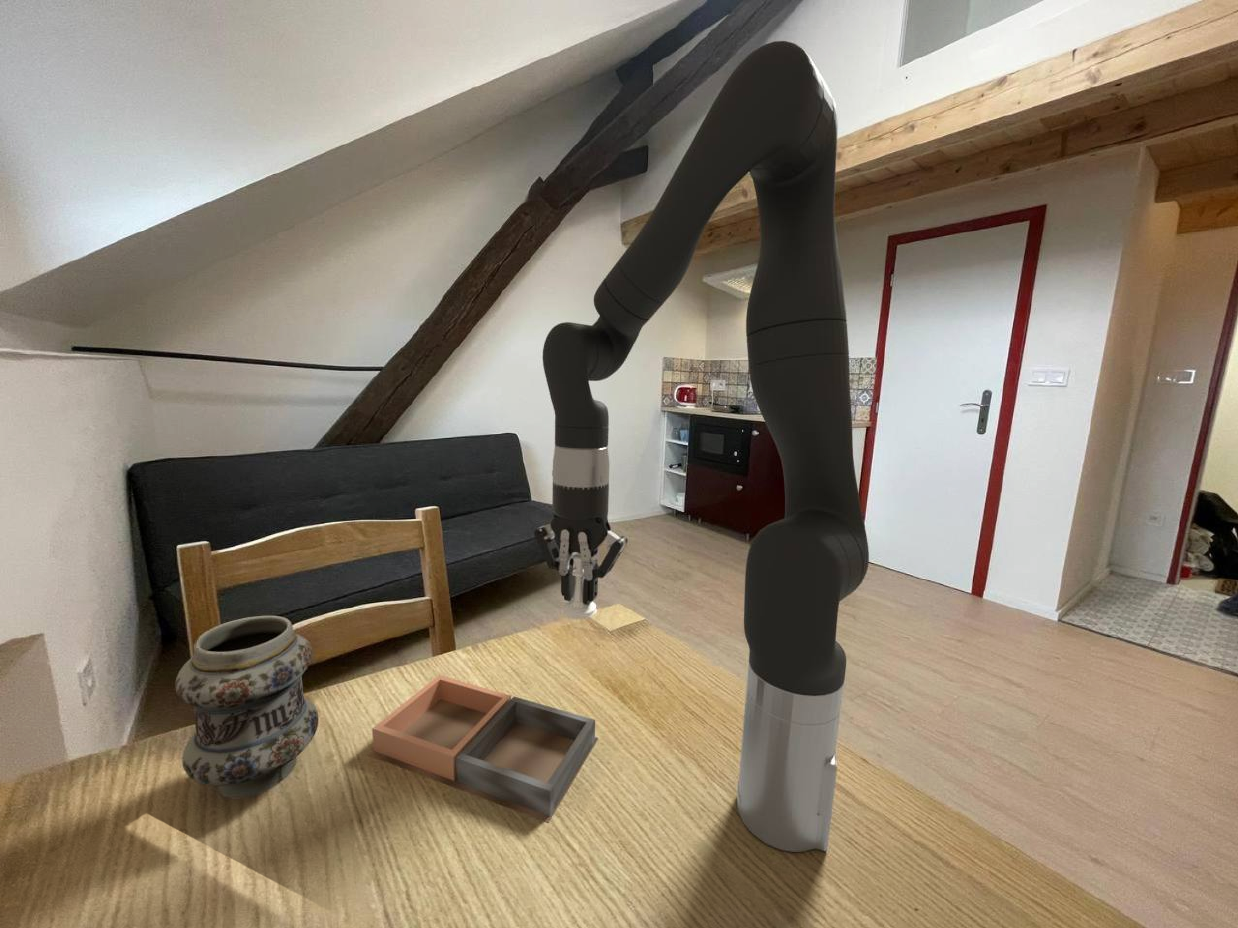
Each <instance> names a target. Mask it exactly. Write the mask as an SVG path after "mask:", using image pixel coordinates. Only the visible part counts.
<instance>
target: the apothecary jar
mask: <svg viewBox="0 0 1238 928" xmlns="http://www.w3.org/2000/svg"><path fill="white" fill-rule="evenodd" d="M312 658H313V649H312V645H311V643H310V642H309V641H308V640H307V639H306V638H305V637H304V636H302V635H301V634H299V633H296V631H295V630H294V627H293V624H292V622H291V621H290V620H289V619H288V618H286V617H283V616H279V615H260V616H248V617H243V618H240V619H234V620H231V621H228V622H224V623H221V624H219V625H216V626H214V627H212V628H211V629H208V630H206V631H205V632H204V633H202V634H201V635H199V637H198V638H197V639H196V640H195V642H194V645H193V654H192V657H191V658H190V659H188V660H187V661H186V662H185V663H184V664H183V666H182V667H181V669H180V670H179V671H178V673H177V676H176V678H175V683H174V687H175V692H176V695H177V696H178V697H179V698H180V700H181V701H182V702H184V703H185V704H187V705H190V706H192V707H193V710H194V711H193V712H194V723H195V725H194V726H195V730H194V732H193V734H192V735H191V736H190V737H189V739H188V741H187V743H186V744H185V746H184V749H183V753H182V757H181V758H182V759H181V762H182V768H183V770H184V772H185V773H186V776H188V777H189V778H190V779H191V780H193V781H194V782H196V783H199V784H202V785H206V786H207V785H208V786H213V787H218V792H219V793H220V794H221V795H222V796H224V797H226V798H228V799H237V800H238V799H246V798H250V797H254V796H257V795H260V794H262V793H265V792H268V791H269V790H271V789H273V788H275V787H276V786H278V785H279V784H281V782H282V781H284V780H286V779H287V778H288V777H289V776H290V774H292V772H293V771H294V769H295V768H296V765H297V761H298V760H297V759H298V758H297V757H298V756H299V755H301V753H302V752H303V751H304V750H305V749H306V748H307V747H308V746H309V744H310V743H311V742H312V740H313V739H314V737H315V736H316V734H317V733H316V732H317V730H318V727H319V721H320V720H319V712H318V710H317V708H316V706H315V704H314V703H312V702H311V701H310V700H308V699H307V698H305V695H304V687H303V678H302V677H303V676H302V675H303V674H304V673H305V672H306V671H307V669H308V667H309V666H310V664H311V662H312Z"/></svg>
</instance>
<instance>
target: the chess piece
mask: <svg viewBox="0 0 1238 928" xmlns="http://www.w3.org/2000/svg"><path fill="white" fill-rule="evenodd" d="M573 561H574V563H575V567H574V568H575V569H573V572H572V575H573V576H576V583H575V590H574V596H573V598H572V599H571V601H566V600H565V601H564V602H563V603H562V605H561V609H560V610H561V614H562V615H563V616H564V617H566V618H568V619H571V620H585V619H590V618H591V617H593V616H595V615H596V614H597V605H596V603H595V602H594V601H592V602H591V603H590V604H589V605H585V604H583V580H584V566H583V564H582V562H581V554H580V553H577V554H575V555H573Z"/></svg>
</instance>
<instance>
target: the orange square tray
mask: <svg viewBox="0 0 1238 928" xmlns="http://www.w3.org/2000/svg"><path fill="white" fill-rule="evenodd" d="M440 699H442V700H445V701H448V702H452V703H455V704H458V705H461V706H465V707H468V708H471V709H474V710H478V711H481V712H484V713H487V714H486V715H485V716H484V717H483V718H482V719H481V721H480V722H479V723H478V724H477V725H476V726H475V727H474V728H473V729H472V730H471V731H470V732H469V733H468V734H467V735H466V736H465V737H464V738H463V739H462V740H461V741H460V742H459V743H458V744H457V745H456V746H455V747H454V748H453V749H452V750H451V749H448V748H445V747H442V746H439V745H437V744H434V743H431V742H428V741H425V740H422V739H419V738H416V737H414V736H411V735H408V734H405V733H402V732H403V731H405V730H406V729H407V728H408V727H409V726H410V725H412V724H413V723H414V722H415V721H416V720H417V719H418V718H420V717H421V716H422V715H423V714H424V713H425V712H427V711H428V710H429V709H430V708H431V707H432V706H434V705H435V704H436V703H437V702H438V701H439V700H440ZM511 699H512V695H511V694H507V693H503V692H499V691H497V690H493V689H489V688H485V687H483V686H480V685H479V686H478V685H475V684H472V683H468V682H465V681H461V680H459V679H456V678H451V677H448V676H445V675H440V674H439V675H438V676H436V677H435V678H434V679H432V680H431V681H430V682H429V683H428V684H426V685H425V686H423V687H422V688H421V689H419V690H418V691H417V692H416V693H415V694H413V695H412V696H411V697H410V698H408V699H407V700H406V701H405V702H404V703H402V704H401V705H400V706H398V707H397V709H395V710H394V711H392V712H391V713H390V714H388V715H387V716H386V717H384V718H383V719H382V720H381V721H380V722H378V723H377V724H376V725H375V726H374V727H372V728H371V731H372V733H371V734H372V744H373V745H372V747H373V749H374V751H375V752H378V753H381V754H383V755H386V756H389V757H392V758H394V759H397V760H400V761H402V762H405V763H408V764H410V765H413V766H416V767H418V768H421V769H424V770H426V771H429V772H432V773H435V774H437V775H440V776H443V777H445V778H448V779H451V780H453V781H454V780H455V779H456V778H457V766H456V758H457V757H458V756H459V755H460V753H461V752H462V751H463V750H464V749H465V748H466V747H467V746H468V745H469V744H470V743H471V742H472V741H473V740H474V738H475V737H476V736H477V735H478V734H479V733H480V732H481V731H482V730H483V729H484V728H485V727H486V726H487V725H488V724H489V722H490V721H491V720H492V719H493V718H494V717H495V716H496V715H497V714H498V713H499V712H500V711H501V710H502V709H503V708H504V706H505V705H506V704H507V703H508V702H509V701H510V700H511ZM373 749H372V750H373Z"/></svg>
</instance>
